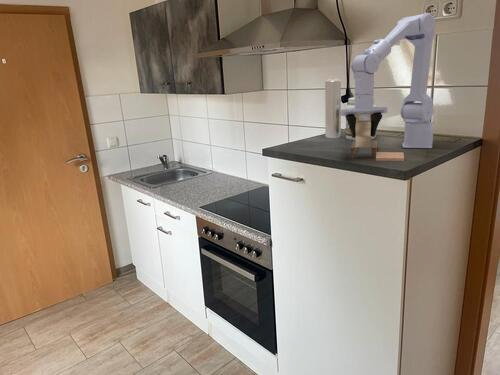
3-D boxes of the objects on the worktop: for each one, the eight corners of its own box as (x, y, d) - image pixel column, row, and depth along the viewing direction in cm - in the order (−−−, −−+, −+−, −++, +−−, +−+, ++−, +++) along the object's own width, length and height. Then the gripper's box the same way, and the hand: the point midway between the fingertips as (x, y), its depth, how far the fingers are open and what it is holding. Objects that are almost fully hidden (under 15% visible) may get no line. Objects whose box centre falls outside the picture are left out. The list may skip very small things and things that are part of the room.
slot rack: (377, 147, 143) (377, 140, 142) (376, 155, 130) (376, 147, 130) (353, 147, 146) (353, 140, 145) (350, 154, 133) (350, 147, 132)
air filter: (333, 139, 166) (333, 78, 159) (322, 137, 171) (322, 79, 164) (343, 136, 169) (344, 77, 162) (332, 135, 174) (332, 78, 167)
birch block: (370, 144, 128) (371, 120, 126) (369, 147, 124) (370, 122, 122) (356, 144, 129) (356, 120, 127) (355, 147, 125) (355, 122, 123)
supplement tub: (341, 137, 168) (342, 98, 163) (368, 135, 169) (369, 96, 164) (351, 142, 156) (352, 99, 151) (380, 140, 157) (382, 97, 152)
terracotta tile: (403, 155, 127) (403, 152, 127) (404, 161, 119) (404, 158, 119) (376, 155, 130) (376, 152, 130) (375, 160, 122) (375, 157, 122)
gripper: (383, 92, 126) (381, 133, 130) (338, 95, 126) (338, 136, 130) (390, 93, 119) (388, 136, 123) (343, 96, 120) (342, 139, 123)
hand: (363, 136), depth 126 cm, fingers closed on birch block, 6 cm apart
